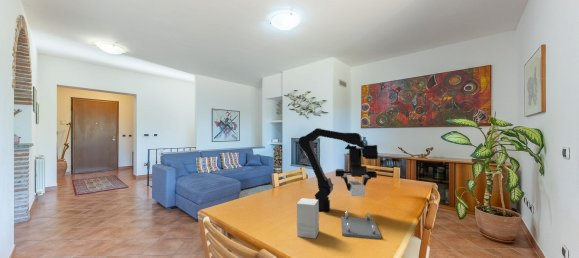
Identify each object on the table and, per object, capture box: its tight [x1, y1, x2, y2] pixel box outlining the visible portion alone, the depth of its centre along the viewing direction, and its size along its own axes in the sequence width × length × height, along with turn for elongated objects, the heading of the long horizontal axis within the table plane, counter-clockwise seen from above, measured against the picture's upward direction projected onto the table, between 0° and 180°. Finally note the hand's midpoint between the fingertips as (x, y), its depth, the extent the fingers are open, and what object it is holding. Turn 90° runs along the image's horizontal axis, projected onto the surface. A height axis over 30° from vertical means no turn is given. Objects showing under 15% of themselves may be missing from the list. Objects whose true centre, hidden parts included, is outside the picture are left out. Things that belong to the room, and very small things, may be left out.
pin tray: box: [340, 210, 382, 240], centre depth 92 cm, size 14×17×4 cm
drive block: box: [346, 180, 366, 197], centre depth 108 cm, size 6×10×5 cm, turn 178°
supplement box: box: [296, 197, 320, 240], centre depth 88 cm, size 7×7×13 cm
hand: (355, 191), depth 108 cm, fingers closed on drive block, 6 cm apart
